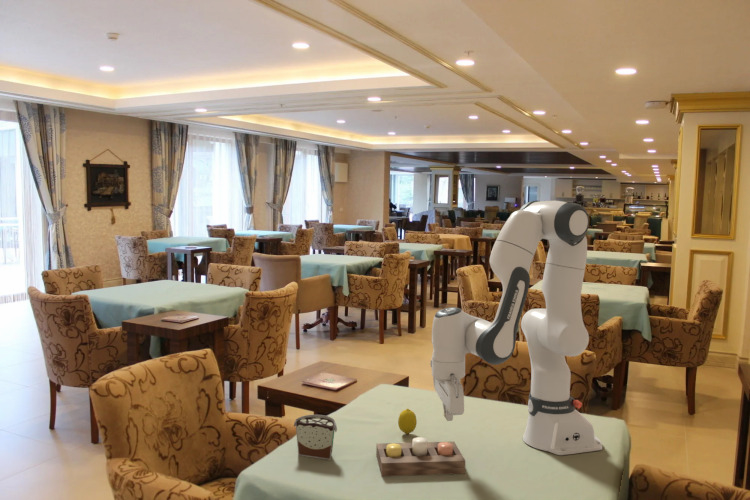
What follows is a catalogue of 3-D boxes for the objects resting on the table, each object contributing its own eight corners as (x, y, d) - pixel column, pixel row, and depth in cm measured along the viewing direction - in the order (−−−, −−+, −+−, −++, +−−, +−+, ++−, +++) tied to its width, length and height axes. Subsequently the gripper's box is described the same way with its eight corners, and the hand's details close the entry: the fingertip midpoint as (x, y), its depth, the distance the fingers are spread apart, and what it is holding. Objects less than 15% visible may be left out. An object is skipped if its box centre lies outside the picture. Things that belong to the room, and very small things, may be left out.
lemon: (414, 438, 176) (415, 412, 175) (396, 437, 177) (397, 411, 176) (417, 431, 181) (418, 406, 180) (399, 430, 182) (400, 404, 181)
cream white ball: (425, 449, 161) (425, 437, 161) (428, 456, 157) (428, 443, 157) (411, 449, 160) (411, 437, 160) (413, 456, 156) (413, 443, 156)
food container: (342, 451, 166) (343, 416, 165) (335, 460, 160) (335, 425, 159) (301, 445, 169) (302, 411, 168) (293, 454, 164) (293, 419, 163)
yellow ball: (399, 455, 160) (400, 443, 160) (402, 462, 156) (402, 449, 156) (385, 456, 160) (385, 443, 159) (387, 462, 156) (387, 449, 156)
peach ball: (450, 454, 162) (450, 441, 161) (453, 460, 158) (454, 448, 158) (436, 454, 161) (436, 442, 161) (439, 461, 157) (439, 448, 157)
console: (453, 453, 166) (454, 441, 166) (464, 473, 154) (465, 460, 154) (376, 455, 164) (376, 443, 163) (381, 476, 152) (381, 463, 151)
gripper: (470, 380, 148) (470, 433, 149) (451, 357, 168) (450, 404, 169) (445, 381, 147) (445, 435, 148) (429, 358, 167) (429, 405, 168)
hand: (448, 418), depth 159 cm, fingers closed
